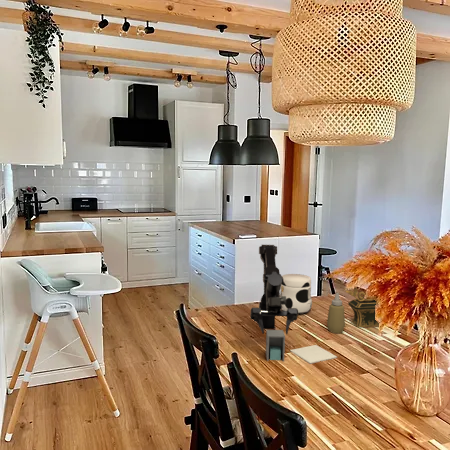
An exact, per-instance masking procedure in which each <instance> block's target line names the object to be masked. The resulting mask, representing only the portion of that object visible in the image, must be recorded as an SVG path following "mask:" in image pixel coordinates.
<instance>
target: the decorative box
mask: <svg viewBox="0 0 450 450" xmlns="http://www.w3.org/2000/svg"><path fill="white" fill-rule="evenodd" d="M358 291H359V290H358V288H357V287H356V288H355V287H354V289H353V290H346V291H345V293H347V294H348V295H350V296H351V297H354V298H355V299H352V300H349V301H348V306H349V307H350V309H352V311H353V318H352V320H351V321H350V322H351V323H352V324H353V325H354V326H355V325H356V326H355V327H357V328H359V327H363V328H380V327H379V323H378V322H377V321H376V320H375V305H376V301H375V300H373V299H364V296H365V294H366V293H365V292H364V291H359V292H358Z"/></svg>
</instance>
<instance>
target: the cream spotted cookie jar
mask: <svg viewBox="0 0 450 450" xmlns="http://www.w3.org/2000/svg"><path fill="white" fill-rule="evenodd" d="M281 276H282V277H283V282H282V284H281V289H280V298H281V296H286V304H285V305H282V309H281V311H287V310H288V308H296V309H297V310H298V315H301V314H306V313H309V312H310V311H311V310H312V306H313V299H312V293H311V290H312V278H311V276H309V275H305V274H300V273H299V274H298V273H288V274H287V273H286V274H281Z"/></svg>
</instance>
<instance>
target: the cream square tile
mask: <svg viewBox="0 0 450 450" xmlns="http://www.w3.org/2000/svg"><path fill="white" fill-rule="evenodd" d="M290 353H293V354H294V355H296V356H297V357H299V358H300V359H302V360H304V362H307V364H315V363H316V364H317V363H321V362H325V361H328V360H333V359H338V356H337V355H335V354H333V353H331V352H330V351H328V350H327V349H324V348H322V347H321V346H319V345H317V344H314V345H308V346H303V347H299V348H294V349H293V348H292V349H290ZM320 361H321V362H320Z"/></svg>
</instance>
